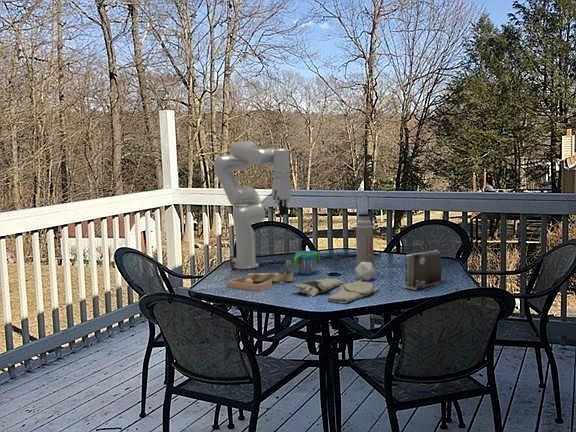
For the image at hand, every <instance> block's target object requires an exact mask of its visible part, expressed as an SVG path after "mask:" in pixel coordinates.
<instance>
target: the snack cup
mask: <svg viewBox="0 0 576 432" xmlns="http://www.w3.org/2000/svg"><path fill="white" fill-rule="evenodd" d="M320 264H321V258H320V254H319V253H318V251H315V250H302V251H301V250H299V251H297V252H295V255H294V257H293V260H292V268H294V269H295V270H296V269H298V273H299V274H301V275H312V274H315V273H316V267H317V266H316V265H320Z"/></svg>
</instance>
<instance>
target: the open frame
mask: <svg viewBox="0 0 576 432" xmlns="http://www.w3.org/2000/svg"><path fill="white" fill-rule="evenodd" d="M226 287H227V288H229V289H230V288H232V289H238V290H239V289H240V290H247V291H253V292H259V291H262V290H265V289H267V288H270V287H273V281H272V280H269V281H262V282H261V283H258V284H256V283H253V284H248V283H245V280H244V276H239V277H237V278H233V279H231V280H227V281H226Z"/></svg>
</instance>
